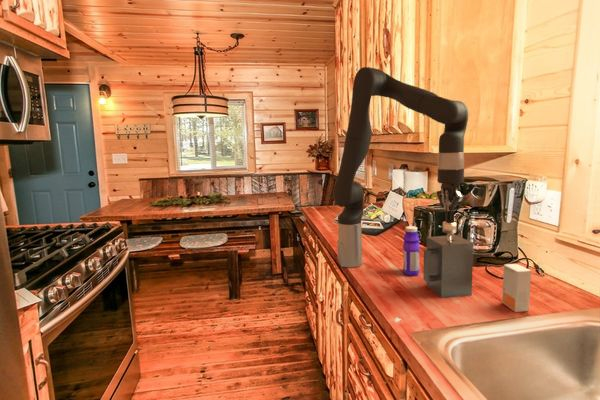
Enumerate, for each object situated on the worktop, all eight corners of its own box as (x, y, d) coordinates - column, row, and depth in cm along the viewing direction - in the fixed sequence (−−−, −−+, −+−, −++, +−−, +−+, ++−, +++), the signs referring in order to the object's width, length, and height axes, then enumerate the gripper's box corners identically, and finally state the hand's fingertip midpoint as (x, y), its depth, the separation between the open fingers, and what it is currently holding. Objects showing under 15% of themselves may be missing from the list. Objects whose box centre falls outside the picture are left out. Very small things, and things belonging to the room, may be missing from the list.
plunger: (442, 286, 111) (444, 226, 108) (430, 277, 119) (431, 220, 116) (467, 284, 112) (469, 224, 109) (453, 275, 120) (454, 219, 117)
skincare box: (501, 303, 106) (503, 264, 104) (515, 302, 106) (517, 263, 104) (515, 312, 100) (517, 271, 98) (529, 311, 100) (532, 270, 98)
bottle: (420, 277, 128) (420, 229, 126) (403, 276, 130) (404, 229, 127) (418, 269, 135) (418, 224, 133) (402, 269, 137) (402, 224, 134)
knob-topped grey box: (432, 298, 110) (432, 246, 108) (417, 286, 120) (418, 237, 118) (471, 295, 112) (473, 242, 109) (454, 282, 122) (455, 234, 119)
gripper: (428, 166, 116) (428, 219, 119) (450, 169, 103) (449, 228, 106) (450, 165, 117) (449, 217, 120) (475, 168, 104) (473, 226, 107)
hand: (449, 222), depth 113 cm, fingers closed
